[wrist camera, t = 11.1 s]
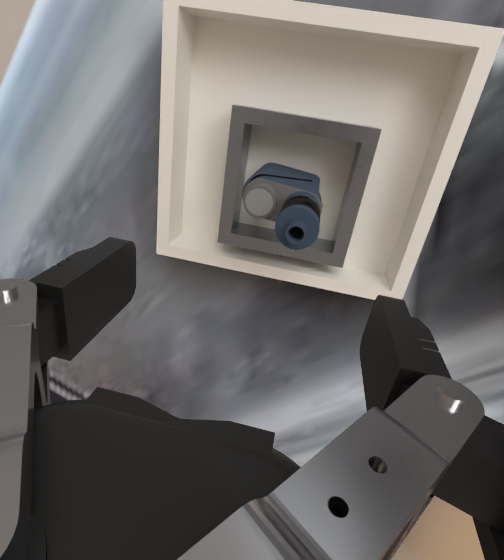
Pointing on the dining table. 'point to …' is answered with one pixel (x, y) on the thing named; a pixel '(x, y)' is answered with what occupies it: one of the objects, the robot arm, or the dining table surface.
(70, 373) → the dining table surface
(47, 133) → the dining table surface
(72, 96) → the dining table surface
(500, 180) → the dining table surface
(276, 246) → the inlet socket
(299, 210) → the vaping device
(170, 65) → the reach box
